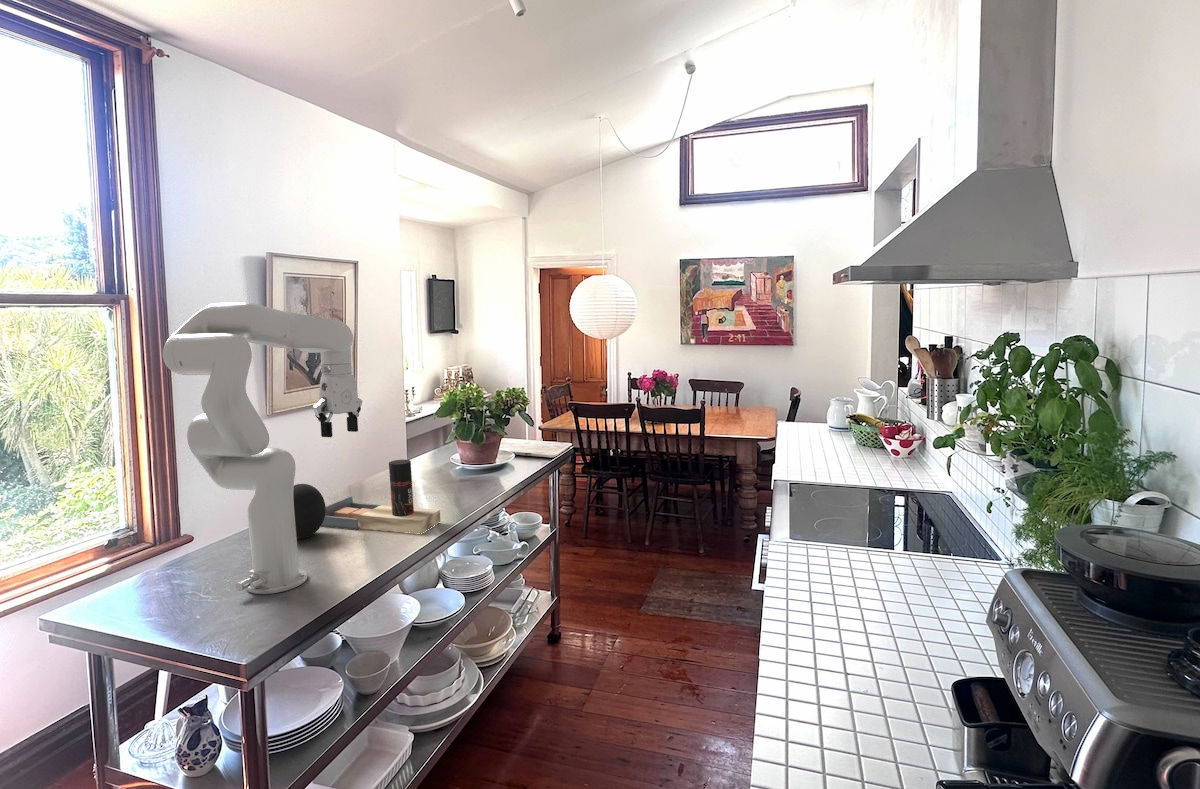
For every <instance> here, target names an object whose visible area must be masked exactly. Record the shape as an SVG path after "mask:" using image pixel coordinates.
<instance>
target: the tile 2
mask: <svg viewBox="0 0 1200 789" xmlns="http://www.w3.org/2000/svg"><path fill="white" fill-rule="evenodd" d="M370 510H372V509H365V508H362V509H359V510H357V511H355V512H352V513H351V518H355V519H358V522H360V515H361V514H363V513H365V512H368V511H370Z"/></svg>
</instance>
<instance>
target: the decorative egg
mask: <svg viewBox="0 0 1200 789" xmlns="http://www.w3.org/2000/svg"><path fill="white" fill-rule="evenodd" d="M293 499H294V513H295V525H296V537H297V539H306V538H309V537H311V536H312V535H314V534H315V533H317V532H318V530H319V529H320V528H321V527H322V526H321V525H322V523H323V521H324V518H325V513H326V506H327V505H326V502H325V499H324V496H323V494H322V493H321V492H320V491H319V490H318V489H317V488H316V487H315V486H313V485H310V484H309V483H296V484H294V490H293Z"/></svg>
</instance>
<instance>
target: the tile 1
mask: <svg viewBox="0 0 1200 789" xmlns="http://www.w3.org/2000/svg"><path fill="white" fill-rule="evenodd" d="M357 510H359V509H358V508H349V507H345V508H342V509H340V510H337V511H335V512H334V517H345V518H351V513H352V512H355V511H357Z"/></svg>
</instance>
